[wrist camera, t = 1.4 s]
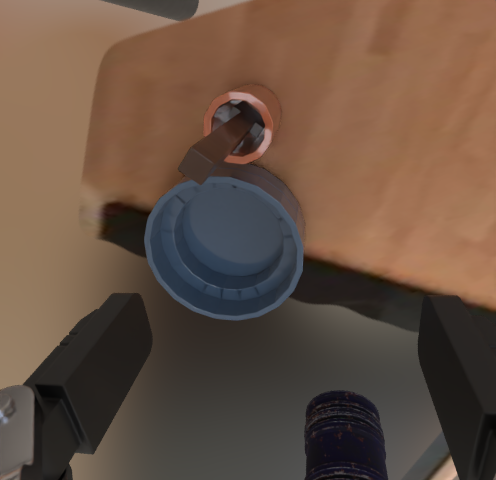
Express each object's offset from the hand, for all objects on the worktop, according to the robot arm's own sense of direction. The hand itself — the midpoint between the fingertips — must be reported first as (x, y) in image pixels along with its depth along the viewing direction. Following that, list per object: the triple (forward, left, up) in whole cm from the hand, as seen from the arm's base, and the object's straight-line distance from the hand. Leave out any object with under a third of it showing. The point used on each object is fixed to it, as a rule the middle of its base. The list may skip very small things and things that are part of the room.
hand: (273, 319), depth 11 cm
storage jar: (+27, -26, -27) cm, 46 cm away
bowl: (0, -12, -27) cm, 30 cm away
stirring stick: (-5, -1, -26) cm, 27 cm away
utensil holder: (-5, -1, -27) cm, 27 cm away
